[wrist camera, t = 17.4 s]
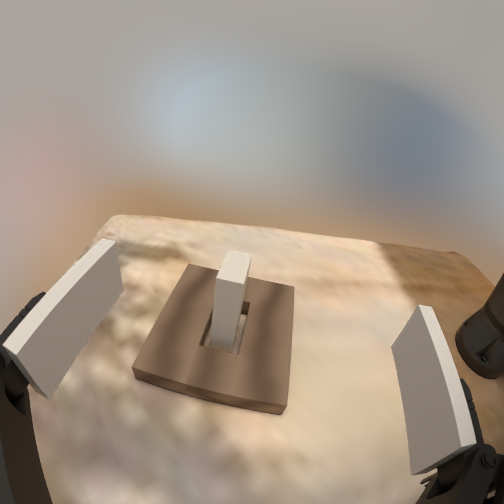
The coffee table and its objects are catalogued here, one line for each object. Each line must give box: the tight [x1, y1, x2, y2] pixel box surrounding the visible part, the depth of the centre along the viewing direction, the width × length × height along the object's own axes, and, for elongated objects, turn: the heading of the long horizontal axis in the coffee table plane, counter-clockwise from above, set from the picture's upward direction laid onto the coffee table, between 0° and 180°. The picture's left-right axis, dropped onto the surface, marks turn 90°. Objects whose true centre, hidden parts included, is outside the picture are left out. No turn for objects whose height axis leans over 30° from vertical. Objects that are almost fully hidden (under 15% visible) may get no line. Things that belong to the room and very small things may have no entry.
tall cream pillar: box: [209, 250, 252, 353], centre depth 36 cm, size 3×6×12 cm, turn 172°
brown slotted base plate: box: [132, 264, 294, 415], centre depth 38 cm, size 18×22×2 cm
